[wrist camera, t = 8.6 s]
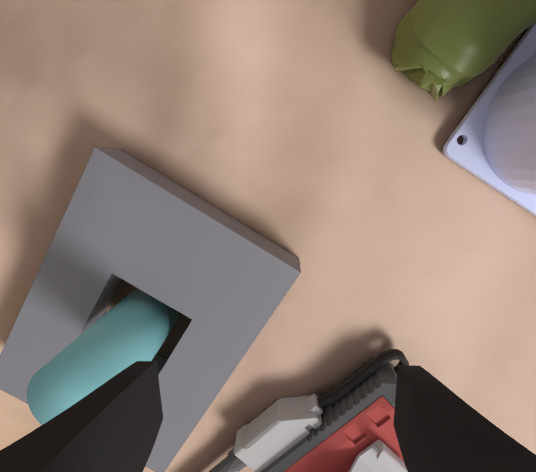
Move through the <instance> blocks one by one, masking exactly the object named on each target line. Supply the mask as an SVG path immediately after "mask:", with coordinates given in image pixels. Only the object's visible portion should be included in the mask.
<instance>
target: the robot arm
mask: <svg viewBox="0 0 536 472" xmlns="http://www.w3.org/2000/svg"><path fill="white" fill-rule="evenodd" d="M459 136H462V137H463V143H462V144H461V145H459V144H458V143H457V138H458V137H459ZM443 153H444V155H445V156H446V157H447V158H448V159H450V160H451V161H453V162H454V163H456V164H457V165H459V166H460V167H462V168H463V169H465V170H466V171H468V172H469V173H471V174H473V175H474V176H476V177H477V178H479V179H480V180H482V181H483V182H485V183H486V184H488V185H489V186H491V187H492V188H494V189H495V190H497V191H498V192H500V193H501V194H503V195H504V196H506V197H507V198H509V199H510V200H512V201H513V202H515V203H516V204H518V205H519V206H521V207H522V208H524V209H525V210H527V211H528V212H530V213H531V214H533V215H534V216H536V23H535V24H533V25H532V26H530V27H529V29H528V30H527V31H526V33H525V34H524V36H523V37H522V38H521V40H520V41H519V42H518V44H517V45H516V47H515V48H514V49H513V51H512V52H511V53H510V55H509V56H508V58H507V59H506V60H505V62H504V63H503V64H502V66H501V67H500V69H499V70H498V71H497V73H496V74H495V75H494V77H493V78H492V80H491V81H490V82H489V84H488V85H487V86H486V88H485V89H484V91H483V92H482V93H481V95H480V96H479V97H478V99H477V100H476V102H475V103H474V104H473V106H472V107H471V108H470V110H469V111H468V113H467V114H466V115H465V117H464V118H463V119H462V121H461V122H460V124H459V125H458V126H457V128H456V129H455V130H454V132H453V133H452V135H451V136H450V137H449V139H448V140H447V141H446V143H445V144H444V146H443ZM162 420H163V411H162V403H161V394H160V386H159V378H158V369H157V361H137V362H135V363H133V364H132V365H130V366H129V367H127V368H126V369H124V370H123V371H121V372H120V373H118V374H117V375H115V376H114V377H112V378H111V379H110V380H108V381H107V382H105V383H104V384H103V385H101V386H100V387H98V388H97V389H95V390H94V391H93V392H91V393H90V394H88V395H87V396H85V397H84V398H82V399H81V400H80V401H78V402H77V403H75V404H74V405H72V406H71V407H69V408H68V409H66V410H65V411H63V412H62V413H60V414H59V415H57V416H55V417H54V418H52V419H51V420H49V421H48V422H46V423H45V424H43V425H42V426H40V427H39V428H37V429H35V430H34V431H32V432H31V433H29V434H27V435H26V436H24V437H23V438H21V439H19V440H18V441H16V442H14V443H13V444H11V445H9V446H7V447H6V448H4V449H2V450H0V472H143V469H144V467H145V465H146V463H147V461H148V459H149V457H150V454H151V452H152V449H153V446H154V444H155V441H156V438H157V435H158V432H159V429H160V426H161V423H162ZM393 425H394V429H395V432H396V436H397V440H398V443H399V447H400V450H401V453H402V457H403V460H404V463H405V466H406V468H407V471H408V472H536V455H535V454H533V453H532V452H531V451H529V450H528V449H527V448H525V447H524V446H522V445H521V444H520V443H518V442H517V441H515V440H514V439H513V438H511V437H510V436H508V435H507V434H506V433H504V432H503V431H502V430H500V429H499V428H498V427H496V426H495V425H494V424H492V423H491V422H490V421H488V420H487V419H486V418H485V417H483V416H482V415H481V414H479V413H478V412H477V411H476V410H474V409H473V408H472V407H470V406H469V405H468V404H467V403H465V402H464V401H463V400H462V399H460V398H459V397H458V396H457V395H456V394H454V393H453V392H452V391H451V390H449V389H448V388H447V387H446V386H444V385H443V384H442V383H441V382H440V381H438V380H437V379H436V378H435V377H433V376H432V375H431V374H430V373H428V372H427V371H426V370H425V369H423V368H422V367H421V366H400V365H398V372H397V384H396V397H395V410H394V423H393Z"/></svg>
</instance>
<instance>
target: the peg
mask: <svg viewBox="0 0 536 472" xmlns="http://www.w3.org/2000/svg"><path fill="white" fill-rule="evenodd" d="M178 317H179V312H178V311H176V310H175V309H173V308H171V307H169V306H168V305H166V304H164V303H163V302H161V301H159V300H157V299H156V298H154V297H152V296H150V295H149V294H147V293H145V292H143V291H142V290H140V289H138V288H135V289H134V290H133V291H131V292H130V293H129V294H128V295H127V296H126V297H124V298H123V299H122V300H121V301H120V302H118V303H117V304H116V305H115V306H114V307H113V308H111V309H110V310H109V311H108V312H107V313H106V314H104V315H103V316H102V317H101V318H100V319H98V320H97V321H96V322H95V323H94V324H93V325H91V326H90V327H89V328H88V329H87V330H85V331H84V332H83V333H82V334H81V335H80V336H78V337H77V338H76V339H75V340H74V341H73V342H71V343H70V344H69V345H68V346H67V347H65V348H64V349H63V350H62V351H61V352H60V353H58V354H57V355H56V356H55V357H54V358H52V359H51V360H50V361H49V362H48V363H47V364H45V365H44V366H43V367H42V368H41V369H40V370H38V371H37V372H36V373H35V374H34V375H33V376H32V378H31V380H30V381H29V384H28V387H27V401H28V405H29V408H30V410H31V412H32V414H33V415H34V417H35V418H36V419H37V420H38V422H39V423H40V424H42V425H43V424H45V423H46V422H48V421H49V420H51V419H52V418H54V417H55V416H57V415H59V414H60V413H62V412H63V411H65V410H66V409H68V408H69V407H71V406H72V405H74V404H75V403H77V402H78V401H80V400H81V399H82V398H84V397H85V396H87V395H88V394H90V393H91V392H93V391H94V390H95V389H97V388H98V387H100V386H101V385H103V384H104V383H105V382H107V381H108V380H110V379H111V378H112V377H114V376H115V375H117V374H118V373H120V372H121V371H123V370H124V369H126V368H127V367H129V366H130V365H132V364H133V363H135V362H137V361H152V359H153V358H154V356H155V355H156V353H157V352H158V350H159V349H160V347H161V346H162V344H163V343H164V341H165V340H166V338H167V337H168V335H169V334H170V332H171V331H172V329H173V328H174V326H175V325H176V323H177V321H178Z"/></svg>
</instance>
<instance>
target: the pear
mask: <svg viewBox="0 0 536 472" xmlns="http://www.w3.org/2000/svg"><path fill="white" fill-rule="evenodd" d="M535 23H536V0H418V1H417V3H416V5H415V6H414V7H413V8H412V9H411V10H410V11H409V12H408V13H407V14H406V15H405V16H404V17H403V18H402V20H401V21H400V23H399V24H398V26H397V29H396V32H395V43H394V47H393V49H392V50H391V60H392V65H393V66H394V70H395V71H400V72H403V74H404V75H405V77H406V76H407V77H409V78H410V79H411V80H412V81H413V80H414V81H415V83H416V82H417V83H416V84H418V85H417V86H420V88H422V90H426V91H429V92H430V94H432V97H433V99H434V100H437V99H438V98H439V97H441V98H442V97H443V96H444V95H446V94H447V92H448V91H449V90H450V89H451V88H453V87H459V86H462V85H464V84H466V83H468V82H469V81H470V80H472V79H473V78H474V77H475V76H477V75H479V74H481V73H482V72H484V71H485V70H487V69H488V68H489V67H490V66H491V65H492V64H493V63H494V62H495V61H496V60H497V59H498V58H499V57H500V56H501V55H502V53H503V52H504V51H505V50H506V49H507V47H508V46H509V45H510V44H511V43H512V42H513V41H514V39H515V38H516V37H517V36H518V35H519V34H521V33H522V32H523V31H524V30H525V29H527V28H528V27H530V26H532V25H533V24H535ZM409 78H408V79H409ZM429 92H428V93H429Z"/></svg>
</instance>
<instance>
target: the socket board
mask: <svg viewBox="0 0 536 472" xmlns="http://www.w3.org/2000/svg"><path fill="white" fill-rule="evenodd" d="M300 273H301V270H300V262H299V258H298V257H296V256H294V255H293V254H291V253H290V252H288V251H286V250H285V249H283V248H281V247H280V246H278V245H276V244H275V243H273V242H272V241H270V240H268V239H267V238H265V237H263V236H262V235H260V234H258V233H257V232H255V231H254V230H252V229H250V228H249V227H247V226H245V225H244V224H242V223H240V222H239V221H237V220H236V219H234V218H232V217H231V216H229V215H227V214H226V213H224V212H222V211H221V210H219V209H218V208H216V207H214V206H213V205H211V204H209V203H208V202H206V201H204V200H203V199H201V198H200V197H198V196H196V195H195V194H193V193H191V192H190V191H188V190H186V189H185V188H183V187H181V186H180V185H178V184H177V183H175V182H173V181H172V180H170V179H168V178H167V177H165V176H163V175H162V174H160V173H159V172H157V171H155V170H154V169H152V168H150V167H149V166H147V165H145V164H144V163H142V162H141V161H139V160H137V159H136V158H134V157H132V156H131V155H129V154H127V153H126V152H124V151H123V150H121V149H111V148H96V147H95V148H94V151H93V153H92V155H91V157H90V159H89V162H88V164H87V166H86V168H85V170H84V172H83V175H82V177H81V179H80V181H79V183H78V186H77V188H76V190H75V192H74V194H73V197H72V199H71V201H70V203H69V205H68V208H67V210H66V212H65V214H64V216H63V218H62V221H61V223H60V225H59V227H58V229H57V232H56V234H55V236H54V238H53V240H52V243H51V245H50V247H49V249H48V251H47V254H46V256H45V258H44V260H43V262H42V265H41V267H40V269H39V271H38V273H37V275H36V278H35V280H34V282H33V284H32V286H31V289H30V291H29V293H28V295H27V297H26V300H25V302H24V304H23V306H22V308H21V311H20V313H19V315H18V317H17V319H16V321H15V324H14V326H13V328H12V330H11V332H10V335H9V337H8V339H7V341H6V343H5V346H4V348H3V350H2V352H1V354H0V389H1V390H3V391H5V392H6V393H8V394H10V395H12V396H14V397H16V398H18V399H20V400H22V401H23V402H25V403H27V404H28V401H27V387H28V384H29V381H30V380H31V378H32V376H33V375H34V374H35V373H36V372H37V371H38V370H40V369H41V368H42V367H43V366H44V365H45V364H47V363H48V362H49V361H50V360H51V359H52V358H54V357H55V356H56V355H57V354H58V353H60V352H61V351H62V350H63V349H64V348H65V347H67V346H68V345H69V344H70V343H71V342H73V341H74V340H75V339H76V338H77V337H78V336H80V335H81V334H82V333H83V332H84V331H85V330H87V329H88V328H89V327H90V326H91V325H93V324H94V323H95V322H96V321H97V320H98V319H100V318H101V317H102V316H103V315H104V313H105V311H106V309H107V307H108V305H109V304H110V302H111V300H112V298H113V296H114V294H115V292H116V290H117V289H118V287H119V285H120V283H121V281H122V279H123V280H124V281H126V282H128V283H130V284H131V285H133V286H135V287H137V288H138V289H140V290H142V291H143V292H145V293H147V294H149V295H150V296H152V297H154V298H156V299H157V300H159V301H161V302H163V303H164V304H166V305H168V306H169V307H171V308H173V309H175V310H176V311H178V312H180V313H182V314H183V315H185V316H187V317H189V318H190V319H192V320H191V322H190V324H189V325H188V327H187V329H186V330H185V332H184V333H183V335H182V337H181V338H180V340H179V342H178V343H177V345H176V346H175V348H174V350H173V351H172V353H171V355H170V356H169V358H168V359H166V358H164V357H162V356H160V355H158V354H157V353H156V355H155V356H154V358H153V359H152V361H157V369H158V378H159V386H160V394H161V403H162V411H163V420H162V423H161V426H160V429H159V432H158V435H157V438H156V441H155V444H154V446H153V449H152V452H151V454H150V457H149V459H148V461H147V463H146V465H145V466H146V467H148V468H150V469H151V470H153V471H155V472H165V470H166V469H167V467H168V466H169V465H170V463H171V462H172V460H173V459H174V457H175V456H176V454H177V453H178V451H179V450H180V448H181V447H182V446H183V444H184V443H185V441H186V440H187V438H188V437H189V435H190V434H191V432H192V431H193V429H194V428H195V427H196V425H197V424H198V422H199V421H200V419H201V418H202V416H203V415H204V413H205V412H206V410H207V409H208V407H209V406H210V405H211V403H212V402H213V400H214V399H215V397H216V396H217V394H218V393H219V391H220V390H221V388H222V387H223V386H224V384H225V383H226V381H227V380H228V378H229V377H230V375H231V374H232V372H233V371H234V369H235V368H236V367H237V365H238V364H239V362H240V361H241V359H242V358H243V356H244V355H245V353H246V352H247V350H248V349H249V348H250V346H251V345H252V343H253V342H254V340H255V339H256V337H257V336H258V334H259V333H260V331H261V330H262V329H263V327H264V326H265V324H266V323H267V321H268V320H269V318H270V317H271V315H272V314H273V312H274V311H275V310H276V308H277V307H278V305H279V304H280V302H281V301H282V299H283V298H284V296H285V295H286V293H287V292H288V291H289V289H290V288H291V286H292V285H293V283H294V282H295V280H296V279H297V277H298V276H299V274H300Z"/></svg>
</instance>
